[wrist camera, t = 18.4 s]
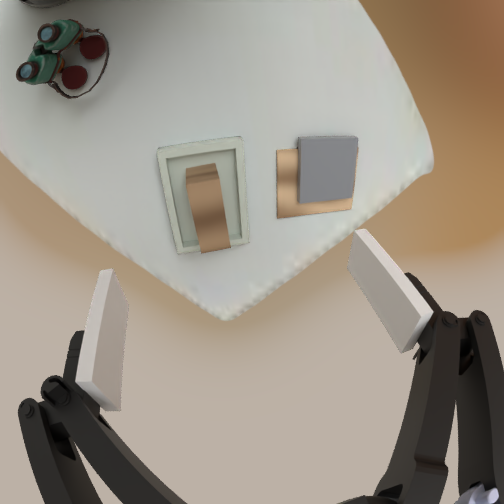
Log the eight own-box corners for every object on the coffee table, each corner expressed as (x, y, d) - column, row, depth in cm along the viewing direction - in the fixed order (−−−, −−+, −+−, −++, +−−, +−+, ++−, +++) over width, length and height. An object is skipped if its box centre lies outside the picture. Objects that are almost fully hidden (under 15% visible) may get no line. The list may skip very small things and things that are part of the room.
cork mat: (276, 150, 39) (277, 150, 39) (357, 146, 41) (358, 147, 40) (277, 217, 46) (277, 218, 45) (350, 208, 47) (351, 209, 47)
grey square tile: (301, 139, 37) (299, 203, 43) (358, 138, 38) (352, 198, 44) (297, 136, 38) (296, 199, 44) (353, 135, 39) (348, 194, 45)
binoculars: (68, 117, 22) (-1, 84, 16) (91, 100, 30) (36, 72, 24) (115, 39, 19) (41, 6, 13) (128, 43, 27) (71, 14, 21)
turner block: (185, 168, 37) (185, 185, 33) (215, 162, 38) (219, 178, 33) (199, 229, 44) (201, 253, 39) (225, 224, 44) (230, 247, 39)
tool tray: (158, 148, 35) (156, 152, 34) (240, 136, 37) (242, 140, 35) (178, 245, 45) (177, 254, 43) (246, 235, 47) (249, 242, 45)
